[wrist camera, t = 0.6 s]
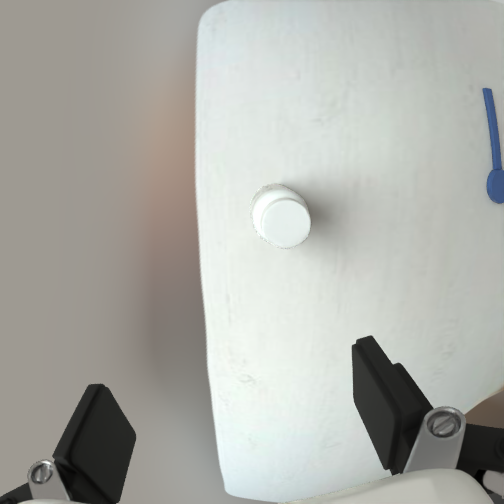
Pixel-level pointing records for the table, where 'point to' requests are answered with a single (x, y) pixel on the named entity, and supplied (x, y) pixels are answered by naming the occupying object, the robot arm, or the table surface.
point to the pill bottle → (280, 216)
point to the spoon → (494, 152)
